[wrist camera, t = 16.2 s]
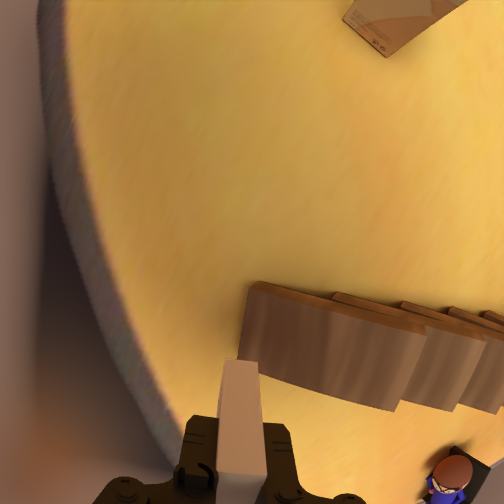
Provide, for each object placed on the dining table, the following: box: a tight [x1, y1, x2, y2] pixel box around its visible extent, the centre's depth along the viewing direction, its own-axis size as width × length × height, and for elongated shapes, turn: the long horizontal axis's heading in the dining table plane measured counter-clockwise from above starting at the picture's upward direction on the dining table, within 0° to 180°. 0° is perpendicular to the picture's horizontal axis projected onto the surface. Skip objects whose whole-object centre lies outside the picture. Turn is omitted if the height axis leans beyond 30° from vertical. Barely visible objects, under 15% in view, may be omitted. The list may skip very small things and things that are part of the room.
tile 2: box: [331, 292, 487, 412], centre depth 19 cm, size 2×6×11 cm
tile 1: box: [237, 281, 427, 412], centre depth 19 cm, size 2×6×11 cm
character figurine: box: [422, 446, 491, 504], centre depth 24 cm, size 8×7×15 cm
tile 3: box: [400, 301, 504, 415], centre depth 18 cm, size 2×6×11 cm
